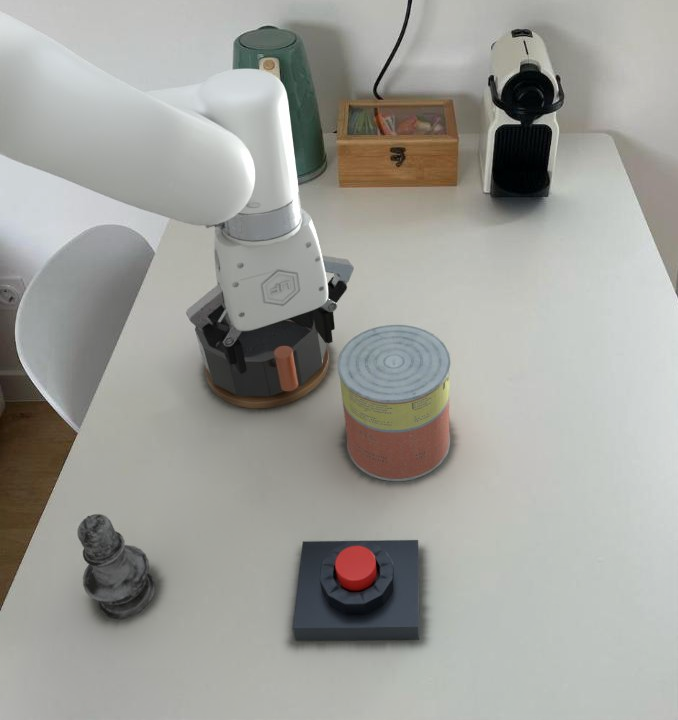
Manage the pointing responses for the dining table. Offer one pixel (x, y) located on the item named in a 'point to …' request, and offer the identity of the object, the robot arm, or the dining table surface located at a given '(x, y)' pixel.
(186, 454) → the dining table surface
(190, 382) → the dining table surface
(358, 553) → the button
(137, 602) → the grey chess pawn
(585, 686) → the dining table surface
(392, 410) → the canned food
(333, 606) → the button box
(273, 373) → the saucepan
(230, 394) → the trivet
